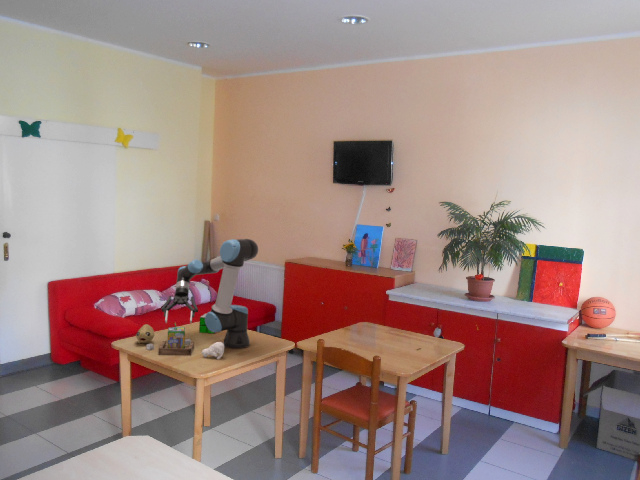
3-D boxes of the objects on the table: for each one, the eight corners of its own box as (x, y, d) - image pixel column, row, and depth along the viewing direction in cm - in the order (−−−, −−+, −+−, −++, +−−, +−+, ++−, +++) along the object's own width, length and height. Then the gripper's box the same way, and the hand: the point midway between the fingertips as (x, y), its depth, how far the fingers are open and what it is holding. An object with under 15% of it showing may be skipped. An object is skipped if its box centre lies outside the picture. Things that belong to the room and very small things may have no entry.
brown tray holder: (163, 346, 298) (163, 341, 298) (193, 347, 300) (194, 341, 300) (158, 354, 283) (158, 348, 283) (190, 355, 285) (190, 349, 285)
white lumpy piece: (222, 343, 280) (200, 344, 280) (223, 359, 281) (201, 360, 281) (224, 340, 286) (202, 341, 286) (225, 355, 287) (203, 356, 287)
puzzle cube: (219, 330, 340) (219, 314, 339) (214, 334, 330) (215, 318, 329) (204, 328, 341) (204, 313, 340) (199, 332, 331) (199, 317, 330)
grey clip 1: (150, 348, 295) (151, 343, 294) (154, 349, 293) (154, 344, 293) (146, 349, 292) (146, 344, 292) (149, 350, 290) (149, 345, 290)
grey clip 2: (190, 343, 307) (190, 339, 307) (190, 344, 304) (190, 340, 304) (185, 343, 307) (185, 339, 307) (184, 344, 304) (185, 340, 304)
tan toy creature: (133, 346, 296) (133, 327, 295) (138, 340, 308) (138, 322, 307) (151, 346, 297) (151, 328, 296) (155, 340, 309) (156, 322, 308)
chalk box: (184, 351, 288) (185, 325, 287) (167, 352, 286) (167, 325, 285) (184, 346, 297) (185, 321, 296) (167, 347, 295) (168, 321, 294)
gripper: (204, 294, 315) (201, 325, 301) (160, 293, 311) (156, 325, 298) (203, 287, 309) (200, 318, 296) (159, 286, 305) (154, 318, 292)
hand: (178, 321), depth 297 cm, fingers open, 13 cm apart
